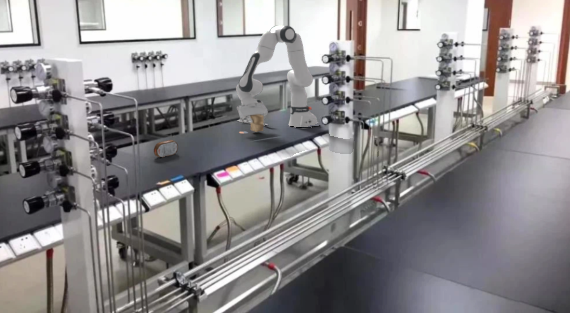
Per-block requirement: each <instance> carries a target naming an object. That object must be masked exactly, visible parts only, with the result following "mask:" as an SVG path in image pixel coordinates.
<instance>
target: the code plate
mask: <svg viewBox="0 0 570 313" xmlns="http://www.w3.org/2000/svg"><path fill="white" fill-rule="evenodd" d="M238 133H239V134H249V132H248V131H245V130H244V131H239V132H238Z"/></svg>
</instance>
